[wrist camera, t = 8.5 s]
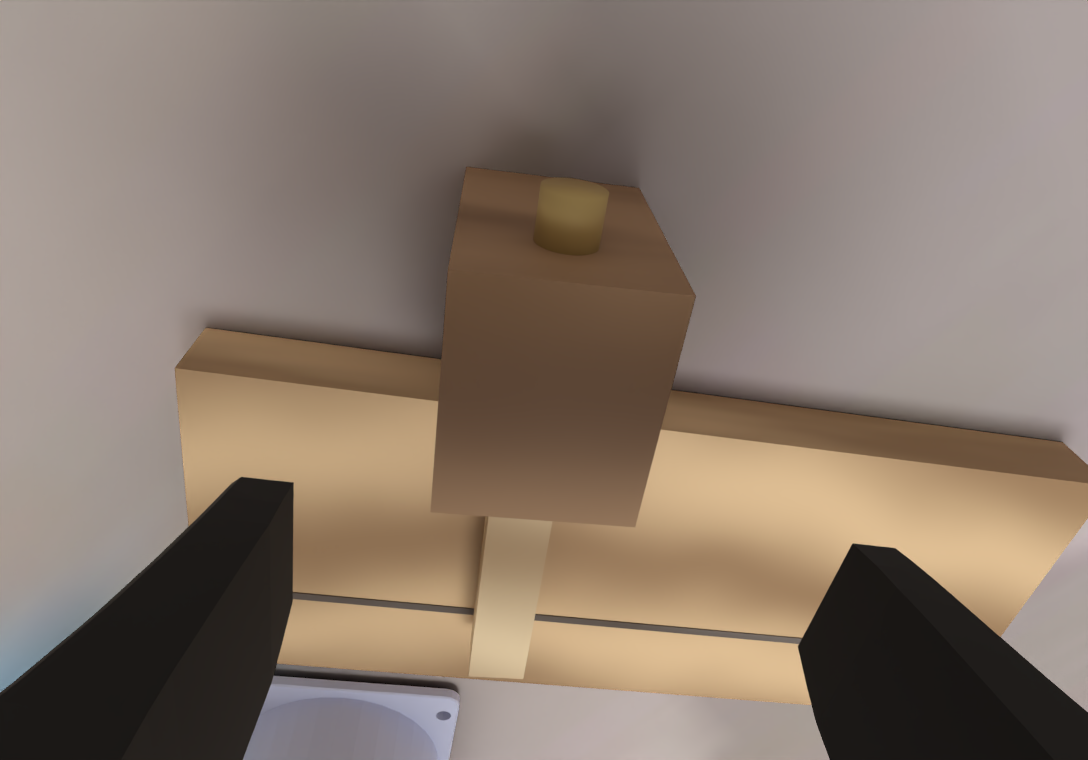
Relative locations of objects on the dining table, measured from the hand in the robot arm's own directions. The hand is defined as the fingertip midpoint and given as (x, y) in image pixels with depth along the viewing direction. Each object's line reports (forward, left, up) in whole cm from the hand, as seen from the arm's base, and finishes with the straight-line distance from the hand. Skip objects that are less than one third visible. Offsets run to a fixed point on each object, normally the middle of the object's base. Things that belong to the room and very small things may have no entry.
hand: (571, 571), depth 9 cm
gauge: (-4, 0, -10) cm, 10 cm away
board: (-8, -4, -10) cm, 13 cm away
